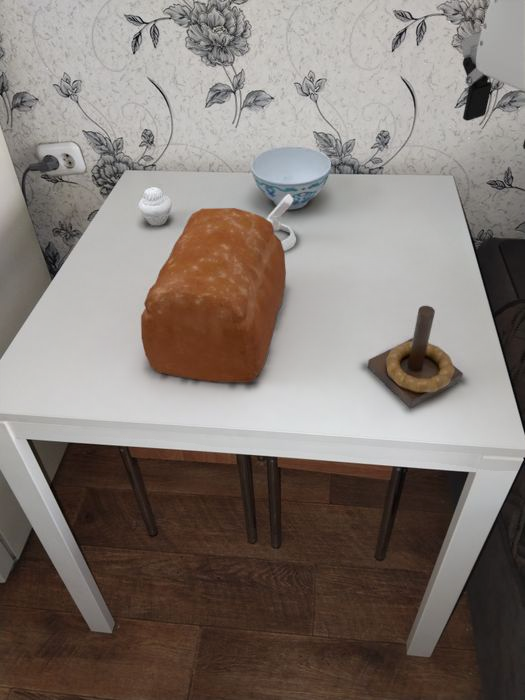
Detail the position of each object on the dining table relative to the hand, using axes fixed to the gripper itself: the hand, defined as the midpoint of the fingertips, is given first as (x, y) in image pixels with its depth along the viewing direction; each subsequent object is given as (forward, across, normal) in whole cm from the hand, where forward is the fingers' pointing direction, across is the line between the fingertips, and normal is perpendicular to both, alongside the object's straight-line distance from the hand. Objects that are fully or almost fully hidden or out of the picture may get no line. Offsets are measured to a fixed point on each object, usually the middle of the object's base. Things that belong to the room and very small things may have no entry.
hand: (502, 131), depth 71 cm
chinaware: (+28, +42, +4) cm, 51 cm away
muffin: (+28, +49, +30) cm, 64 cm away
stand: (+28, -7, +14) cm, 32 cm away
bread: (+28, +16, +32) cm, 46 cm away
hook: (+28, +32, +14) cm, 45 cm away
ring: (+26, -8, +14) cm, 31 cm away
